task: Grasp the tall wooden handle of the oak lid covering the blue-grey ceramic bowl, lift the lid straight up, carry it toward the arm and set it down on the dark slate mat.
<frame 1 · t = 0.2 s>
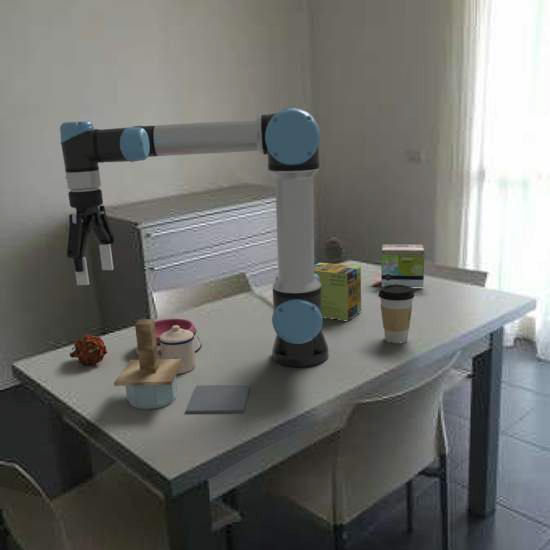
hand: (96, 277, 150), 28 cm above the table, tool pointing down, fingers open, 13 cm apart
teacup with lid: (174, 370, 162), on the table
tea box: (402, 286, 227), on the table
dog bowl: (169, 350, 177), on the table
coffee cup: (396, 339, 176), on the table
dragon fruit: (90, 363, 170), on the table
protein box: (333, 314, 200), on the table
ceramic bowl: (152, 398, 146), on the table
oak lid: (150, 373, 144), point 6 cm above the table, touching ceramic bowl
slate mat: (219, 399, 144), on the table
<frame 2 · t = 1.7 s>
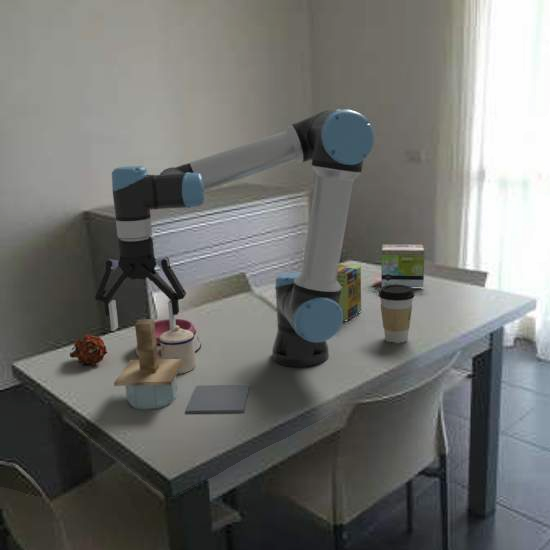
hand: (143, 328, 142), 18 cm above the table, tool pointing down, fingers open, 13 cm apart
nothing on the table moved.
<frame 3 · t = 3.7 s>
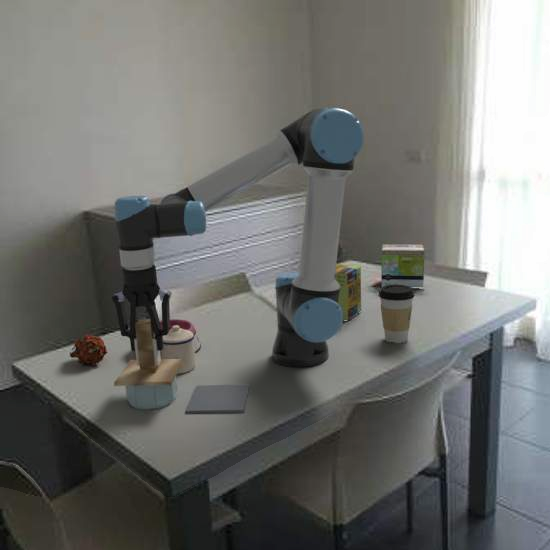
hand: (149, 363, 144), 9 cm above the table, tool pointing down, fingers closed on oak lid, 3 cm apart
oak lid: (150, 373, 144), point 6 cm above the table, touching ceramic bowl, gripper
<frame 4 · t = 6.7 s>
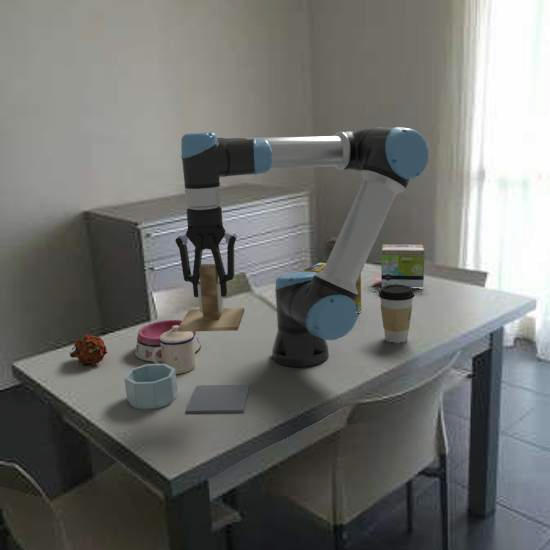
hand: (211, 310, 138), 22 cm above the table, tool pointing down, fingers closed on oak lid, 3 cm apart
oak lid: (212, 321, 139), point 19 cm above the table, touching gripper
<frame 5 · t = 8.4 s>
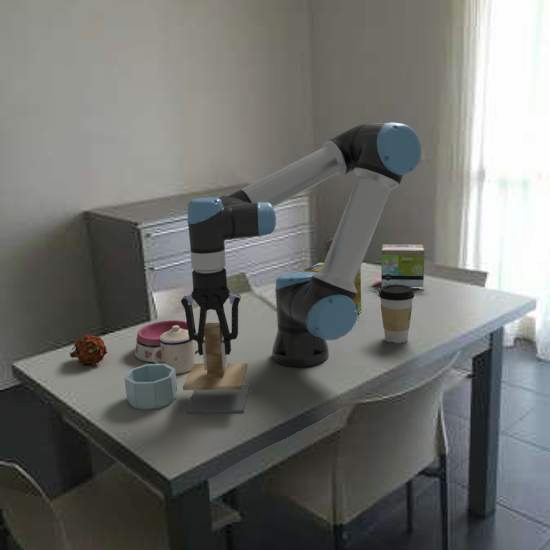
hand: (215, 367, 142), 8 cm above the table, tool pointing down, fingers closed on oak lid, 3 cm apart
oak lid: (216, 377, 142), point 6 cm above the table, touching gripper
when the fingers open (5 cm above the table, at t = 9.7 s): oak lid drops 1 cm, resting on slate mat.
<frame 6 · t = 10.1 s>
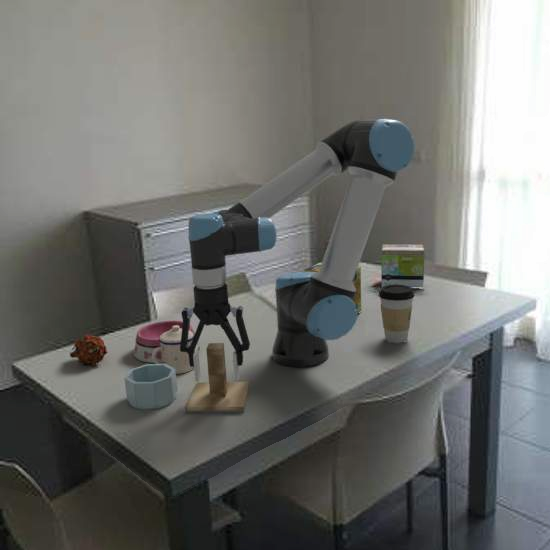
hand: (217, 378, 143), 5 cm above the table, tool pointing down, fingers open, 8 cm apart
oak lid: (219, 397, 144), point 1 cm above the table, touching slate mat
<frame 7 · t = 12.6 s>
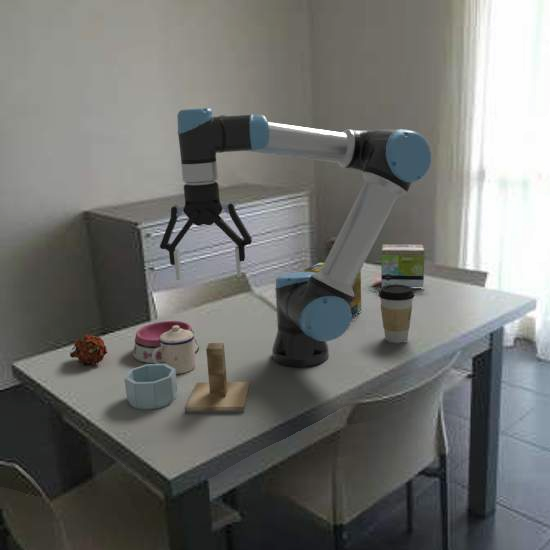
hand: (209, 277, 139), 29 cm above the table, tool pointing down, fingers open, 13 cm apart
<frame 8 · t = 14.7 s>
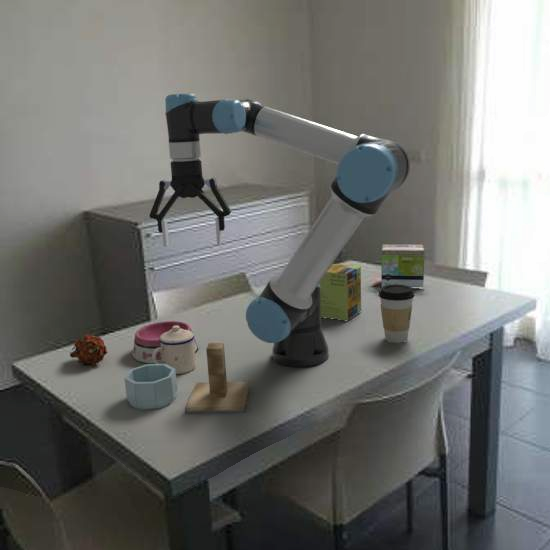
hand: (192, 244, 156), 33 cm above the table, tool pointing down, fingers open, 13 cm apart
at the end: oak lid inside the target area on the slate mat (0.0 cm from its centre), point 0.6 cm above the slate mat's base; oak lid tilted 0°; oak lid touching slate mat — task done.
